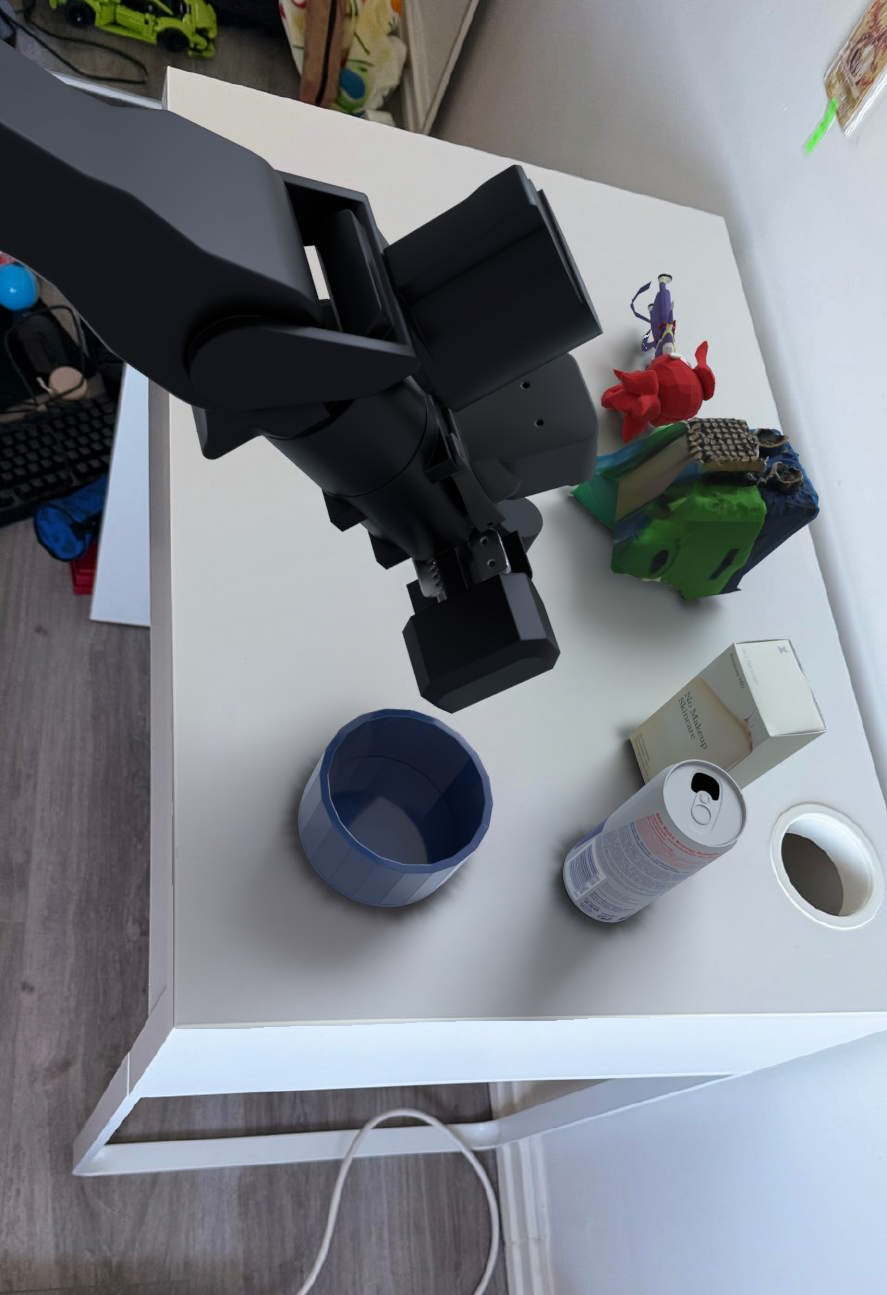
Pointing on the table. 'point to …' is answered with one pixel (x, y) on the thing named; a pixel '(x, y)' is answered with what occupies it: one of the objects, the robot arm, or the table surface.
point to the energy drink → (656, 840)
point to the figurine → (660, 375)
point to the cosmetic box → (735, 714)
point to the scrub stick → (521, 520)
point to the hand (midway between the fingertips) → (502, 578)
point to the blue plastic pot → (394, 807)
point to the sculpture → (699, 503)
